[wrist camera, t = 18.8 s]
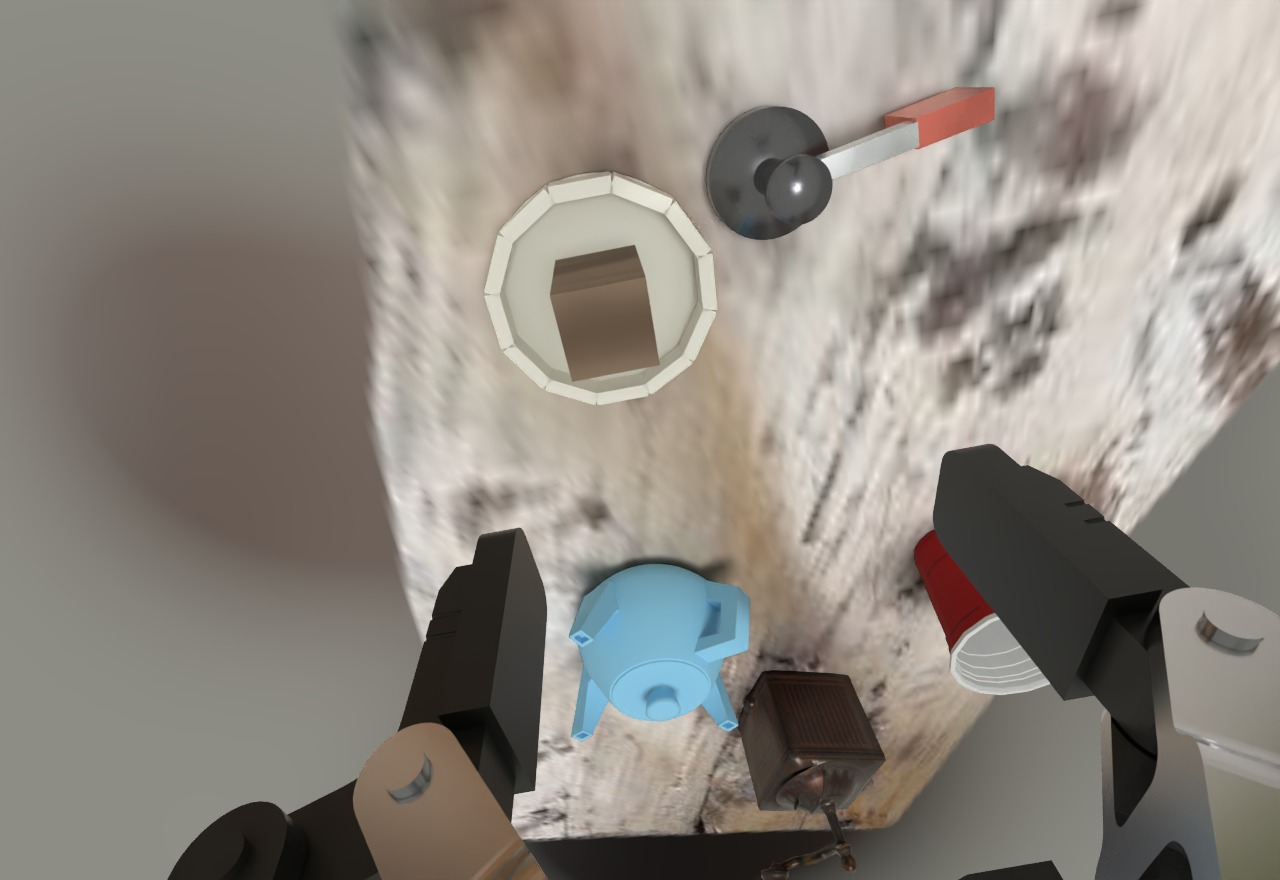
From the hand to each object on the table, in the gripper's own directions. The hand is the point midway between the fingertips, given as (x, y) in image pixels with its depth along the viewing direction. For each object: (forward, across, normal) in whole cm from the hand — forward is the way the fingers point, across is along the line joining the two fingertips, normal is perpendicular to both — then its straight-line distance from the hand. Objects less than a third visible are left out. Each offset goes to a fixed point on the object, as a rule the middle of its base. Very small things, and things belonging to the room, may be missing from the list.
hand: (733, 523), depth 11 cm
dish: (+28, +2, +4) cm, 28 cm away
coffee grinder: (+28, -8, +56) cm, 64 cm away
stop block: (+27, +2, +4) cm, 28 cm away
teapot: (+28, +4, +35) cm, 45 cm away
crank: (+27, -15, -3) cm, 31 cm away
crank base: (+28, -8, -1) cm, 29 cm away
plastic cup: (+28, -24, +34) cm, 50 cm away
